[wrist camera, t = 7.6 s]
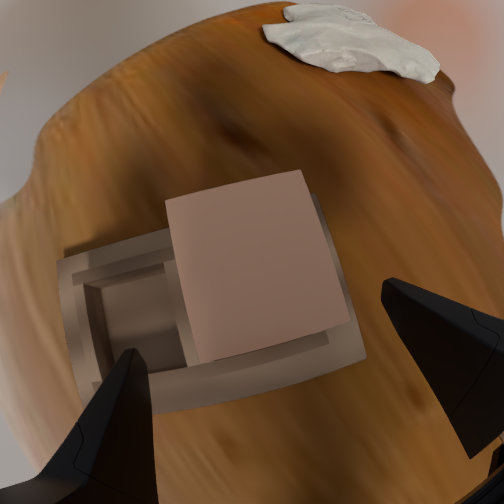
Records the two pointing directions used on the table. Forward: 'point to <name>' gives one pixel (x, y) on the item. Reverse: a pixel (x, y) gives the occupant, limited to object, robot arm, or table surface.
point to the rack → (178, 329)
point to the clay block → (254, 265)
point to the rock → (348, 42)
